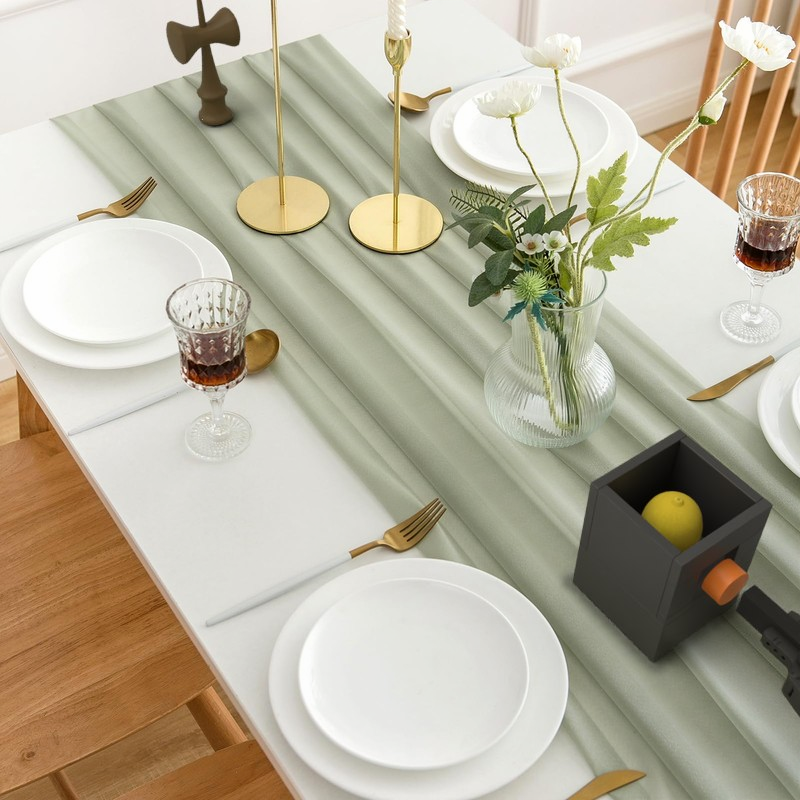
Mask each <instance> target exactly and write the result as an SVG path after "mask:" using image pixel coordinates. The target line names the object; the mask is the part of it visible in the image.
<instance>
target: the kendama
mask: <svg viewBox="0 0 800 800" xmlns="http://www.w3.org/2000/svg"><path fill="white" fill-rule="evenodd" d="M195 2H196V10H197V11H196V12H197V19H198V24H197V25H192V26H189V25H185V24H182V23H181V22H177V21H175V20H170V21H168V22H166V28H165V33H166V39H167V42H168V46H169V49H170V52H171V53H172V55H173V58H175V60H176V61H177V62H178V63H179V64H181V65H187V64H188V63H189V62H190V61H191V60H192V59H193V57H194V55H195V54H196V53H198V50H200V52H201V81H200V86H199V87H198V88H197V90H196V94H197V96H198V98H200V101H201V108H200V110H199V111H198V115H197V117H198V119H199V120H200V122H202V123H203V124H205V125H208V126H218V125H219V126H220V125H223V124H225V123H227V122H229V121H230V120H231V119H232V118H233V114H234V113H233V111H232V109H231V107H229V106H227V103H226V96H227V95H228V91H229V89H228V87H227V86H226V85H225V84H224V83H222V81H221V79H220V75H219V73H218V69H217V67H216V62H215V60H214V55H213V51H212V47H211V45H213V44H221V45H225V46H229V47H234V48H235V47H238V46H240V43H241V29H240V25H239V22H238V20H237V17H236V16H235V14H234V13H233V11H232V10H231V9H230V8H229V7H227V6H223V7H221V8H220V9H218V10H217V11H216V13H215V14H214V15H213V16H212V17H211V18H210V19H209V20H207V21H206V16H205V9H204V5H203V0H196V1H195ZM202 119H203V120H202Z"/></svg>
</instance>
